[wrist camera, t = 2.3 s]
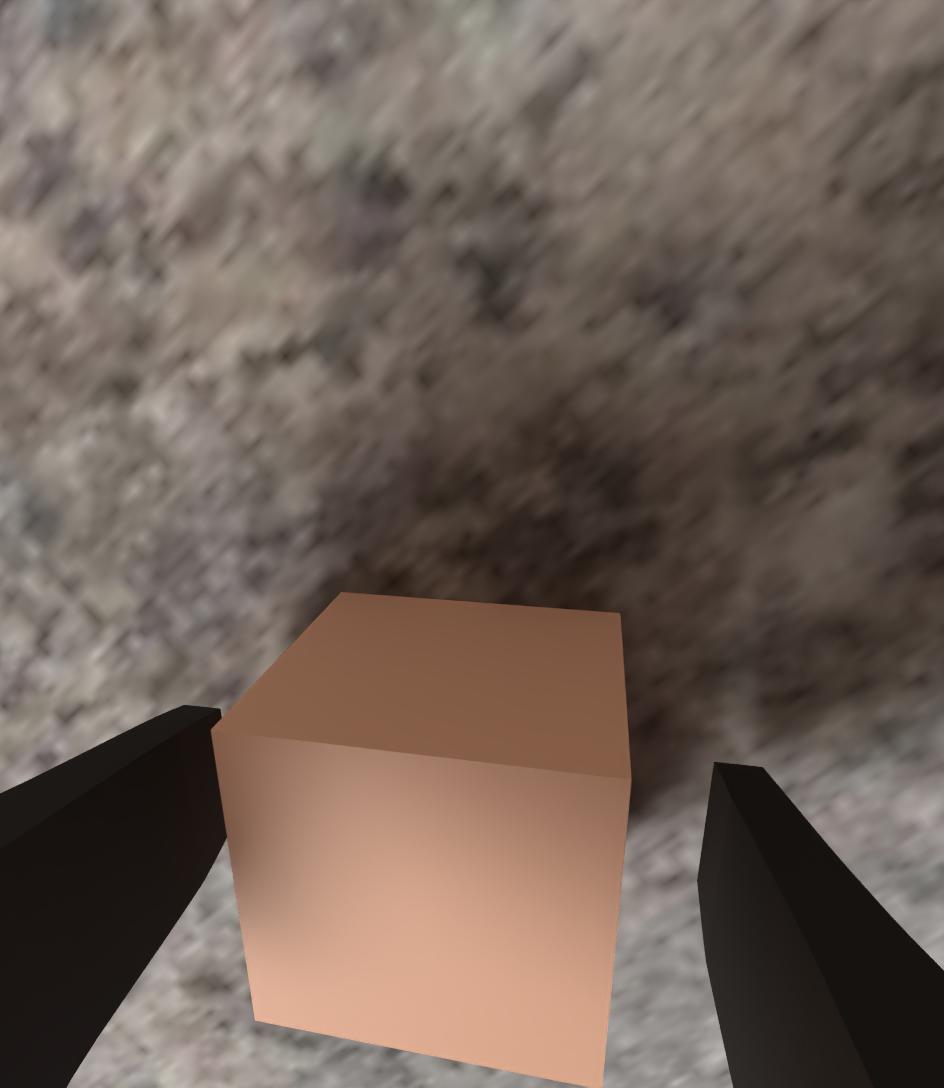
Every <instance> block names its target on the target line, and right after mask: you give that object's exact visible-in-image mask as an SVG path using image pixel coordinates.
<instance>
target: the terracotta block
mask: <svg viewBox="0 0 944 1088" xmlns="http://www.w3.org/2000/svg"><path fill="white" fill-rule="evenodd" d="M211 735H212V742H213V748H214V755H215V761H216V768H217V774H218V781H219V787H220V794H221V800H222V807H223V813H224V820H225V827H226V833H227V840H228V846H229V853H230V859H231V866H232V872H233V879H234V885H235V892H236V898H237V905H238V911H239V918H240V925H241V931H242V938H243V944H244V951H245V957H246V964H247V970H248V977H249V983H250V990H251V996H252V1003H253V1010H254V1016H255V1021H260V1022H265V1023H270V1024H275V1025H280V1026H285V1027H290V1028H295V1029H300V1030H305V1031H310V1032H315V1033H320V1034H325V1035H330V1036H335V1037H340V1038H345V1039H350V1040H355V1041H360V1042H365V1043H370V1044H375V1045H380V1046H385V1047H390V1048H395V1049H400V1050H405V1051H410V1052H415V1053H420V1054H425V1055H430V1056H435V1057H440V1058H445V1059H450V1060H455V1061H460V1062H465V1063H470V1064H475V1065H480V1066H485V1067H490V1068H495V1069H500V1070H505V1071H510V1072H515V1073H520V1074H525V1075H530V1076H535V1077H540V1078H545V1079H550V1080H555V1081H560V1082H565V1083H570V1084H575V1085H580V1086H585V1087H590V1088H602V1083H603V1073H604V1062H605V1052H606V1041H607V1031H608V1020H609V1010H610V1000H611V989H612V979H613V968H614V958H615V947H616V937H617V927H618V916H619V906H620V895H621V885H622V874H623V864H624V854H625V843H626V833H627V822H628V812H629V802H630V791H631V781H632V779H631V764H630V749H629V734H628V719H627V704H626V689H625V674H624V659H623V644H622V630H621V615H620V613H613V612H599V611H586V610H573V609H560V608H546V607H533V606H520V605H507V604H493V603H480V602H467V601H453V600H440V599H427V598H414V597H400V596H387V595H374V594H361V593H347V592H341V593H340V594H339V595H338V596H337V597H336V598H335V599H334V600H333V601H332V602H331V603H330V604H329V606H328V607H327V608H326V609H325V610H324V611H323V612H322V613H321V614H320V615H319V616H318V617H317V618H316V619H315V620H314V621H313V622H312V623H311V625H310V626H309V627H308V628H307V629H306V630H305V631H304V632H303V633H302V634H301V635H300V636H299V637H298V638H297V639H296V640H295V641H294V643H293V644H292V645H291V646H290V647H289V648H288V649H287V650H286V651H285V652H284V653H283V654H282V655H281V656H280V657H279V658H278V659H277V660H276V662H275V663H274V664H273V665H272V666H271V667H270V668H269V669H268V670H267V671H266V672H265V673H264V674H263V675H262V676H261V677H260V678H259V679H258V681H257V682H256V683H255V684H254V685H253V686H252V687H251V688H250V689H249V690H248V691H247V692H246V693H245V694H244V695H243V696H242V697H241V698H240V700H239V701H238V702H237V703H236V704H235V705H234V706H233V707H232V708H231V709H230V710H229V711H228V712H227V713H226V714H225V715H224V716H223V718H222V719H221V720H220V721H219V722H218V723H217V724H216V725H215V726H214V727H213V728H212V729H211Z"/></svg>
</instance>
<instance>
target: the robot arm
mask: <svg viewBox="0 0 944 1088" xmlns="http://www.w3.org/2000/svg"><path fill="white" fill-rule="evenodd" d="M221 719H222V717H221V710H220V709H218V708H209V707H199V706H190V705H183V706H180V707H178V708H175V709H173V710H170V711H168V712H166V713H163V714H161V715H159V716H157V717H155V718H153V719H150V720H148V721H146V722H144V723H142V724H140V725H138V726H136V727H134V728H132V729H130V730H128V731H126V732H124V733H122V734H120V735H118V736H116V737H114V738H112V739H110V740H108V741H106V742H104V743H102V744H100V745H98V746H96V747H94V748H92V749H90V750H88V751H86V752H84V753H82V754H80V755H78V756H76V757H74V758H72V759H70V760H68V761H66V762H64V763H62V764H60V765H58V766H56V767H54V768H52V769H50V770H48V771H46V772H44V773H42V774H40V775H38V776H36V777H34V778H32V779H30V780H28V781H26V782H24V783H22V784H19V785H17V786H15V787H13V788H11V789H9V790H7V791H5V792H2V793H0V1088H66V1087H67V1086H68V1084H69V1082H70V1080H71V1079H72V1077H73V1075H74V1074H75V1072H76V1071H77V1069H78V1068H79V1066H80V1064H81V1063H82V1061H83V1060H84V1058H85V1057H86V1055H87V1053H88V1052H89V1050H90V1049H91V1047H92V1046H93V1044H94V1043H95V1041H96V1039H97V1038H98V1036H99V1035H100V1033H101V1032H102V1030H103V1029H104V1028H105V1026H106V1025H107V1023H108V1022H109V1020H110V1019H111V1017H112V1016H113V1014H114V1013H115V1012H116V1010H117V1009H118V1007H119V1006H120V1004H121V1003H122V1001H123V1000H124V998H125V997H126V996H127V994H128V993H129V991H130V990H131V988H132V987H133V985H134V984H135V982H136V981H137V979H138V978H139V977H140V975H141V974H142V972H143V971H144V969H145V968H146V966H147V965H148V963H149V962H150V961H151V959H152V958H153V956H154V955H155V953H156V952H157V950H158V949H159V947H160V946H161V945H162V943H163V942H164V940H165V939H166V937H167V936H168V934H169V933H170V931H171V930H172V928H173V927H174V925H175V924H176V923H177V921H178V920H179V918H180V917H181V915H182V914H183V912H184V911H185V909H186V908H187V906H188V905H189V903H190V902H191V900H192V899H193V897H194V896H195V894H196V893H197V891H198V890H199V888H200V887H201V885H202V884H203V882H204V880H205V878H206V877H207V875H208V873H209V871H210V869H211V867H212V865H213V864H214V862H215V860H216V858H217V856H218V854H219V852H220V850H221V848H222V846H223V844H224V842H225V840H226V838H227V833H226V827H225V820H224V813H223V807H222V800H221V794H220V787H219V781H218V774H217V768H216V761H215V755H214V748H213V742H212V735H211V729H212V728H213V727H214V726H215V725H216V724H217V723H218V722H219V721H220V720H221ZM697 883H698V893H699V903H700V912H701V922H702V931H703V940H704V948H705V957H706V963H707V968H708V973H709V978H710V982H711V987H712V992H713V996H714V1001H715V1006H716V1010H717V1015H718V1020H719V1024H720V1029H721V1034H722V1038H723V1043H724V1047H725V1052H726V1056H727V1061H728V1065H729V1070H730V1074H731V1079H732V1084H733V1088H944V970H943V969H942V968H941V967H940V966H939V965H938V964H937V963H936V962H935V961H934V960H933V959H932V958H931V957H930V956H929V955H928V954H927V953H926V952H925V951H924V950H923V949H922V948H921V947H920V946H919V945H918V944H917V943H916V942H915V941H914V940H913V939H912V938H911V937H910V936H909V935H908V934H907V933H906V932H905V930H904V929H903V928H902V927H901V926H900V925H899V924H898V923H897V922H896V921H895V920H894V919H893V918H892V917H891V916H890V914H889V913H888V912H887V911H886V910H885V909H884V908H883V907H882V906H881V904H880V903H879V902H878V901H877V900H876V899H875V898H874V897H873V896H872V894H871V893H870V892H869V891H868V890H867V889H866V888H865V887H864V885H863V884H862V883H861V882H860V881H859V880H858V879H857V878H856V877H855V875H854V874H853V873H852V872H851V871H850V870H849V869H848V868H847V866H846V865H845V864H844V863H843V862H842V861H841V860H840V858H839V857H838V856H837V855H836V854H835V853H834V851H833V850H832V849H831V848H830V847H829V846H828V844H827V843H826V842H825V841H824V840H823V839H822V837H821V836H820V835H819V834H818V833H817V831H816V830H815V829H814V828H813V827H812V825H811V824H810V823H809V822H808V821H807V820H806V818H805V817H804V816H803V815H802V813H801V812H800V811H799V810H798V809H797V807H796V806H795V805H794V804H793V803H792V801H791V800H790V799H789V798H788V797H787V795H786V794H785V793H784V792H783V791H782V789H781V788H780V787H779V786H778V785H777V783H776V782H775V781H774V780H773V779H772V777H771V776H770V775H769V774H768V773H767V772H766V770H765V769H764V768H763V767H757V766H748V765H739V764H729V763H720V762H714V766H713V774H712V781H711V788H710V795H709V802H708V809H707V816H706V823H705V830H704V837H703V844H702V851H701V858H700V865H699V872H698V879H697Z"/></svg>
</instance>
